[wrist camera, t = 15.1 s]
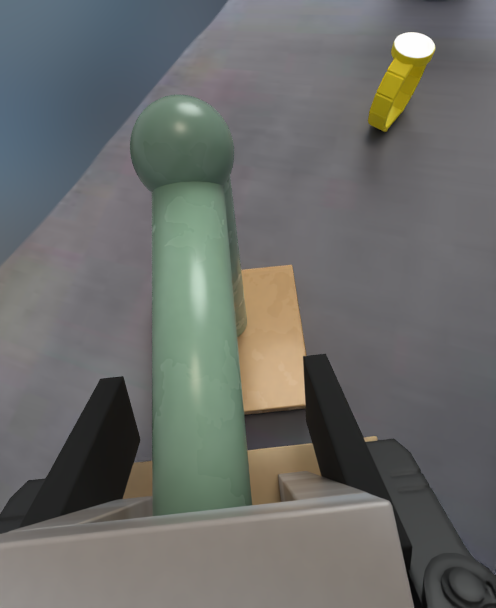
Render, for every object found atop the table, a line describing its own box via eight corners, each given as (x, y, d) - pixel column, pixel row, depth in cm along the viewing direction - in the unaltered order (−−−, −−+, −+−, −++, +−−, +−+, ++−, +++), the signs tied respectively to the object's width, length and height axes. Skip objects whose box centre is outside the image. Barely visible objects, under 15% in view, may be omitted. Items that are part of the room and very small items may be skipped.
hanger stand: (333, 553, 20) (593, 909, 4) (164, 571, 20) (-201, 992, 4) (290, 274, 26) (331, 0, 10) (160, 287, 26) (6, 33, 10)
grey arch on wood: (383, 537, 16) (751, 790, 4) (103, 568, 16) (-398, 915, 4) (362, 438, 18) (583, 398, 5) (106, 466, 18) (-250, 490, 5)
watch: (384, 149, 30) (411, 79, 24) (353, 134, 31) (373, 63, 25) (419, 103, 32) (452, 28, 26) (390, 89, 32) (416, 14, 27)
